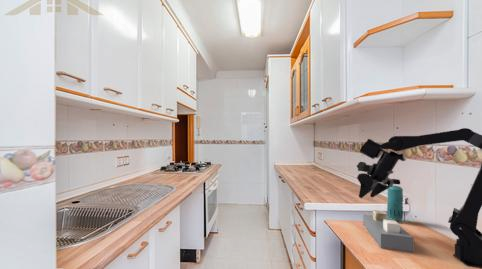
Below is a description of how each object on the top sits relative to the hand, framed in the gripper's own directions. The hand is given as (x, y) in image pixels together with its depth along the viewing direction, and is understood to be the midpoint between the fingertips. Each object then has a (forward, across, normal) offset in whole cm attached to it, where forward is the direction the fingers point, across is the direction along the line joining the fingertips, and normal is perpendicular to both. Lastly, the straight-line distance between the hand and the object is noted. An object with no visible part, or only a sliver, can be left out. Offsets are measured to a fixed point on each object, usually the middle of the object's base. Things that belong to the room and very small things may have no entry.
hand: (365, 197), depth 93 cm
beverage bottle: (+11, -28, +6) cm, 31 cm away
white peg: (+6, +2, +15) cm, 16 cm away
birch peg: (+9, -7, +7) cm, 13 cm away
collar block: (+10, -3, +12) cm, 16 cm away
